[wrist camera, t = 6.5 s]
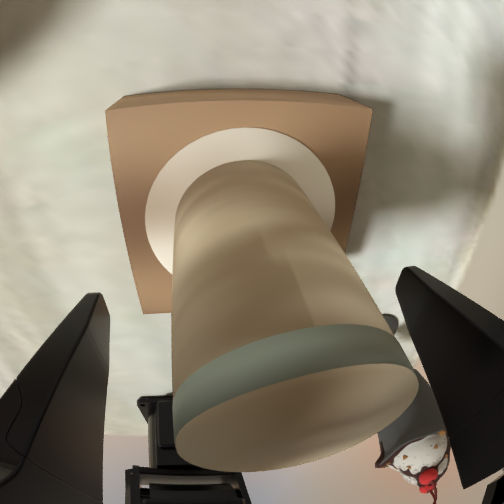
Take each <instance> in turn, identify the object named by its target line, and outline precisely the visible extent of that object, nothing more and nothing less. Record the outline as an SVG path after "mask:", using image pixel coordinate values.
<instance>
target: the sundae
mask: <svg viewBox="0 0 504 504" xmlns="http://www.w3.org/2000/svg"><path fill="white" fill-rule="evenodd" d="M383 317H384V319H385V321H386V322H387V324H388V326H389V328H390V329H391V331H392V333H393V335H394V334H395V332H396V330H397V327H398V322H397V320H396V318H394V317H393V316H389V315H383ZM414 371H415V373H416V375H417V379H418V383H419V388H418V392H417V394H416V397H415V398H414V400H413V402H412V403H411V404H410V405H409V407H408V408H407V409H406V410H405V411H404V412H403V413H402V414H401V415H400V416H399V417H398V418H397V419H395V420H394V421H393V422H392V423H390V424H389V425H388V426H386V427H385V428H384V429H382V430H381V431H379V432H378V437H379V444H380V450H381V455H380V457H379V459H378V460H377V461H376V463H375V468H385V467H391V468H392V469H394V470H396V471H399V472H400V473H401V475H402V476H403V477H404V478H405V480H406V481H407V482H409V483H411V484H414V485H418V486H419V487H420V489H419V490H420V492H421V493H428V492H430V493H431V495H432V496H433V498H434V502H433V504H436V500H437V488H436V483H437V481H438V480H439V479H440V478H441V477H442V476H443V474H444V473H445V472H446V470H447V468H448V465H449V462H450V448H451V445H450V441H449V437H448V435H447V431H446V428H445V425H444V422H443V419H442V416H441V413H440V411H439V408H438V405H437V402H436V399H435V397H434V394H433V391H432V388H431V387H430V385H429V384H428V382H427V381H426V380H425V379H424V378H423V377H422V376H421V374H420V373H419V372H418V371H417V370H416V369H414ZM432 490H434V493H435V495H434V493H433V492H432Z"/></svg>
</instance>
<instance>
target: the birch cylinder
mask: <svg viewBox="0 0 504 504" xmlns="http://www.w3.org/2000/svg"><path fill="white" fill-rule="evenodd" d="M172 386H173V406H172V410H173V429H174V443H175V447H176V450H177V453H178V454H179V455H180V457H181V458H183V459H184V460H185V461H187V462H189V463H191V464H193V465H196V466H199V467H202V468H206V469H210V470H217V471H226V472H256V471H268V470H276V469H282V468H287V467H292V466H297V465H301V464H305V463H309V462H312V461H315V460H319V459H322V458H325V457H328V456H330V455H333V454H335V453H338V452H341V451H343V450H345V449H348V448H350V447H352V446H354V445H356V444H358V443H360V442H362V441H364V440H366V439H368V438H369V437H371V436H372V435H374V434H376V433H378V432H379V431H381V430H382V429H384V428H385V427H386V426H388V425H389V424H390V423H392V422H393V421H394V420H395V419H397V418H398V417H399V416H400V415H401V414H402V413H403V412H404V411H405V410H406V409H407V408H408V407H409V405H410V404H411V403H412V402H413V400H414V398H415V397H416V394H417V392H418V388H419V383H418V379H417V375H416V373H415V371H414V369H413V367H412V366H411V364H410V362H409V360H408V358H407V356H406V354H405V353H404V351H403V349H402V347H401V345H400V343H399V342H398V341H397V339H396V338H395V337H394V335H393V333H392V331H391V329H390V328H389V326H388V324H387V322H386V321H385V319H384V317H383V315H382V314H381V312H380V310H379V309H378V307H377V305H376V304H375V302H374V300H373V298H372V297H371V295H370V293H369V292H368V290H367V288H366V287H365V285H364V283H363V282H362V280H361V279H360V277H359V275H358V274H357V272H356V270H355V269H354V267H353V266H352V264H351V262H350V261H349V259H348V258H347V256H346V255H345V253H344V251H343V250H342V248H341V247H340V245H339V244H338V242H337V241H336V239H335V237H334V236H333V234H332V233H331V231H330V230H329V228H328V227H327V225H326V224H325V222H324V221H323V219H322V218H321V216H320V215H319V213H318V212H317V210H316V209H315V207H314V206H313V204H312V203H311V201H310V200H309V199H308V197H307V196H306V194H305V193H304V191H303V190H302V188H301V187H300V186H299V184H298V183H297V182H296V181H295V179H294V178H293V177H291V176H290V175H289V174H288V173H287V172H285V171H284V170H282V169H280V168H278V167H276V166H274V165H271V164H268V163H265V162H260V161H252V160H242V161H234V162H229V163H225V164H222V165H219V166H216V167H214V168H212V169H210V170H208V171H207V172H205V173H204V174H202V175H201V176H199V177H198V178H197V179H196V180H195V181H194V182H193V183H192V184H191V185H190V186H189V187H188V188H187V190H186V191H185V193H184V194H183V196H182V197H181V200H180V202H179V204H178V207H177V210H176V215H175V226H174V245H173V270H172Z"/></svg>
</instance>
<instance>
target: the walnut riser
mask: <svg viewBox="0 0 504 504" xmlns="http://www.w3.org/2000/svg"><path fill="white" fill-rule="evenodd" d="M372 111H373V109H371V108H369V107H366V106H364V105H362V104H360V103H358V102H355V101H353V100H351V99H348V98H346V97H344V96H341V95H338V94H328V93H318V92H306V91H291V90H269V89H208V90H186V91H171V92H159V93H149V94H139V95H131V96H124V97H122V98H121V99H120V100H118V101H117V102H116V103H114V104H113V105H112V106H111V107H109V108H108V109H107V110H105V113H106V123H107V132H108V141H109V149H110V156H111V164H112V170H113V177H114V183H115V189H116V195H117V201H118V207H119V212H120V217H121V222H122V227H123V232H124V237H125V242H126V247H127V251H128V256H129V260H130V264H131V268H132V273H133V277H134V281H135V285H136V289H137V292H138V296H139V300H140V304H141V307H142V311H143V314H155V313H172V270H173V245H174V226H175V215H176V210H177V207H178V204H179V202H180V200H181V197H182V196H183V194H184V193H185V191H186V190H187V188H188V187H189V186H190V185H191V184H192V183H193V182H194V181H195V180H196V179H197V178H198V177H199V176H201V175H202V174H204V173H205V172H207V171H208V170H210V169H212V168H214V167H216V166H219V165H222V164H225V163H229V162H234V161H242V160H252V161H260V162H265V163H268V164H271V165H274V166H276V167H278V168H280V169H282V170H284V171H285V172H287V173H288V174H289V175H290V176H291V177H293V178H294V179H295V181H296V182H297V183H298V184H299V186H300V187H301V188H302V190H303V191H304V193H305V194H306V196H307V197H308V199H309V200H310V201H311V203H312V204H313V206H314V207H315V209H316V210H317V212H318V213H319V215H320V216H321V218H322V219H323V221H324V222H325V224H326V225H327V227H328V228H329V230H330V231H331V233H332V234H333V236H334V237H335V239H336V241H337V242H338V244H339V245H340V247H341V248H342V250H343V251H344V252H345V248H346V244H347V240H348V236H349V232H350V227H351V223H352V218H353V214H354V209H355V205H356V200H357V195H358V190H359V185H360V180H361V175H362V170H363V165H364V159H365V154H366V148H367V142H368V136H369V130H370V124H371V117H372Z"/></svg>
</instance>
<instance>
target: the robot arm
mask: <svg viewBox="0 0 504 504" xmlns="http://www.w3.org/2000/svg"><path fill="white" fill-rule="evenodd" d="M396 295H397V298H398V301H399V304H400V307H401V310H402V313H403V316H404V319H405V322H406V325H407V328H408V331H409V333H410V336H411V338H412V341H413V343H414V346H415V348H416V350H417V353H418V355H419V358H420V360H421V363H422V365H423V367H424V370H425V373H426V375H427V378H428V380H429V383H430V386H431V388H432V391H433V394H434V397H435V399H436V402H437V405H438V408H439V411H440V413H441V416H442V419H443V422H444V425H445V428H446V431H447V435H448V437H449V441H450V445H451V448H452V451H453V455H454V458H455V462H456V465H457V469H458V472H459V476H460V480H461V484H462V486H463V489H466V488H468V487H470V486H472V485H474V484H476V483H477V482H479V481H481V480H483V479H485V478H486V477H488V476H490V475H492V474H494V473H496V472H497V471H499V470H501V469H502V471H503V474H502V475H501V476H499V477H498V478H497V479H495V480H494V481H493V482H491V483H490V484H488V485H487V488H486V492H485V495H484V498H483V501H482V504H504V321H503V320H502V319H500V318H498V317H497V316H495V315H494V314H492V313H491V312H489V311H488V310H486V309H484V308H483V307H481V306H480V305H478V304H477V303H475V302H474V301H472V300H470V299H469V298H467V297H466V296H464V295H463V294H461V293H459V292H458V291H456V290H455V289H453V288H451V287H450V286H448V285H446V284H445V283H443V282H441V281H440V280H438V279H436V278H435V277H433V276H431V275H430V274H428V273H426V272H425V271H423V270H421V269H420V268H418V267H416V266H409V267H405V268H404V269H403V270H402V272H401V274H400V277H399V279H398V282H397V284H396ZM109 341H110V315H109V312H108V309H107V306H106V303H105V300H104V298H103V295H102V294H101V293H99V292H98V293H88V294H86V295H85V296H84V297H83V298H82V299H81V301H80V302H79V303H78V304H77V305H76V306H75V307H74V308H73V310H72V311H71V312H70V313H69V314H68V315H67V316H66V318H65V319H64V320H63V321H62V322H61V323H60V324H59V326H58V327H57V328H56V329H55V330H54V332H53V333H52V334H51V335H50V336H49V337H48V339H47V340H46V341H45V342H44V343H43V345H42V346H41V347H40V348H39V350H38V351H37V352H36V353H35V355H34V356H33V357H32V358H31V360H30V361H29V362H28V363H27V365H26V366H25V367H24V368H23V370H22V371H21V372H20V374H19V375H18V376H17V379H15V380H14V381H13V383H12V384H11V385H10V387H9V388H8V389H7V390H6V392H5V393H4V394H3V396H2V397H1V398H0V504H103V502H102V501H103V494H102V493H103V488H102V487H103V485H102V483H103V481H102V480H103V479H102V478H103V475H102V474H103V471H102V470H103V439H104V421H105V407H106V395H107V385H108V375H109ZM137 406H138V408H139V409H140V411H141V413H142V415H143V416H144V418H145V420H146V421H147V423H148V442H149V468H148V467H139V466H135V465H133V469H128V470H125V481H126V493H125V495H126V496H125V504H251V501H250V498H249V495H248V492H247V489H246V486H245V482H244V479H243V476H242V473H241V472H226V471H217V470H210V469H206V468H202V467H199V466H196V465H193V464H191V463H189V462H187V461H185V460H184V459H183V458H181V457H180V455H179V454H178V453H177V450H176V447H175V443H174V429H173V410H172V406H173V398H142V399H138V400H137ZM141 485H149V488H141Z"/></svg>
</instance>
